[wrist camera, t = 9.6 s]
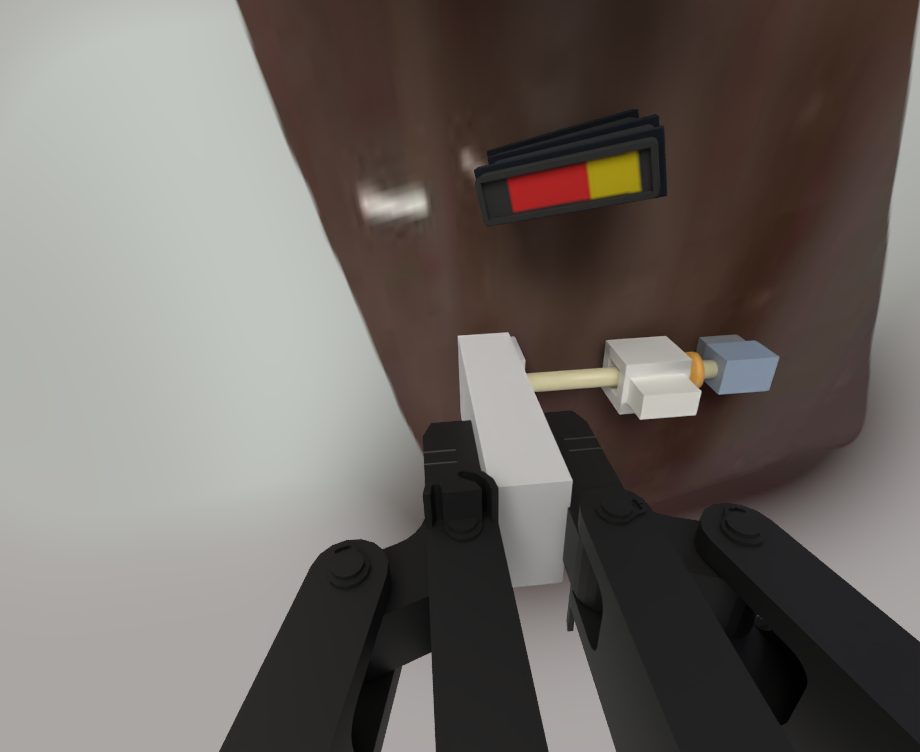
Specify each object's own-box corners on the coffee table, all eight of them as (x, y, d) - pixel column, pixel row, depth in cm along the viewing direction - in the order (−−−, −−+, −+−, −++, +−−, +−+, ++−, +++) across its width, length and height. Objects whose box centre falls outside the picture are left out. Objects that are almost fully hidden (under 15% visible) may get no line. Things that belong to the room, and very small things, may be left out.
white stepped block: (606, 340, 48) (640, 381, 41) (665, 335, 48) (710, 376, 41) (600, 386, 50) (632, 433, 43) (657, 382, 51) (698, 427, 44)
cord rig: (481, 338, 48) (489, 366, 43) (745, 320, 50) (783, 345, 45) (482, 391, 51) (490, 423, 46) (731, 372, 53) (765, 401, 48)
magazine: (669, 149, 40) (666, 201, 28) (512, 181, 45) (457, 236, 34) (667, 97, 38) (663, 130, 26) (504, 137, 43) (442, 179, 32)
